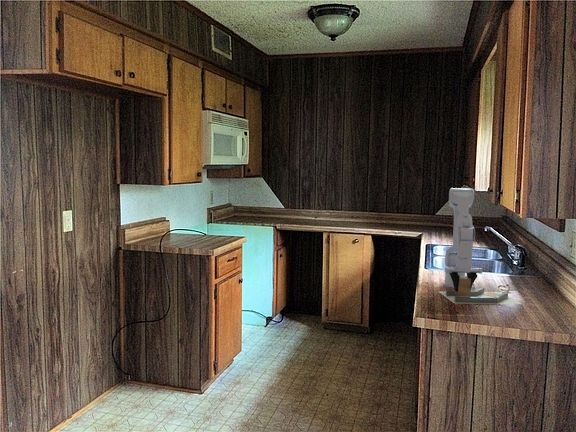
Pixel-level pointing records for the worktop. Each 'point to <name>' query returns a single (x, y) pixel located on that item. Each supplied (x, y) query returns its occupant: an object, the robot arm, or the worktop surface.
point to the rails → (477, 299)
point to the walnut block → (463, 286)
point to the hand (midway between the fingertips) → (462, 290)
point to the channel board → (485, 294)
